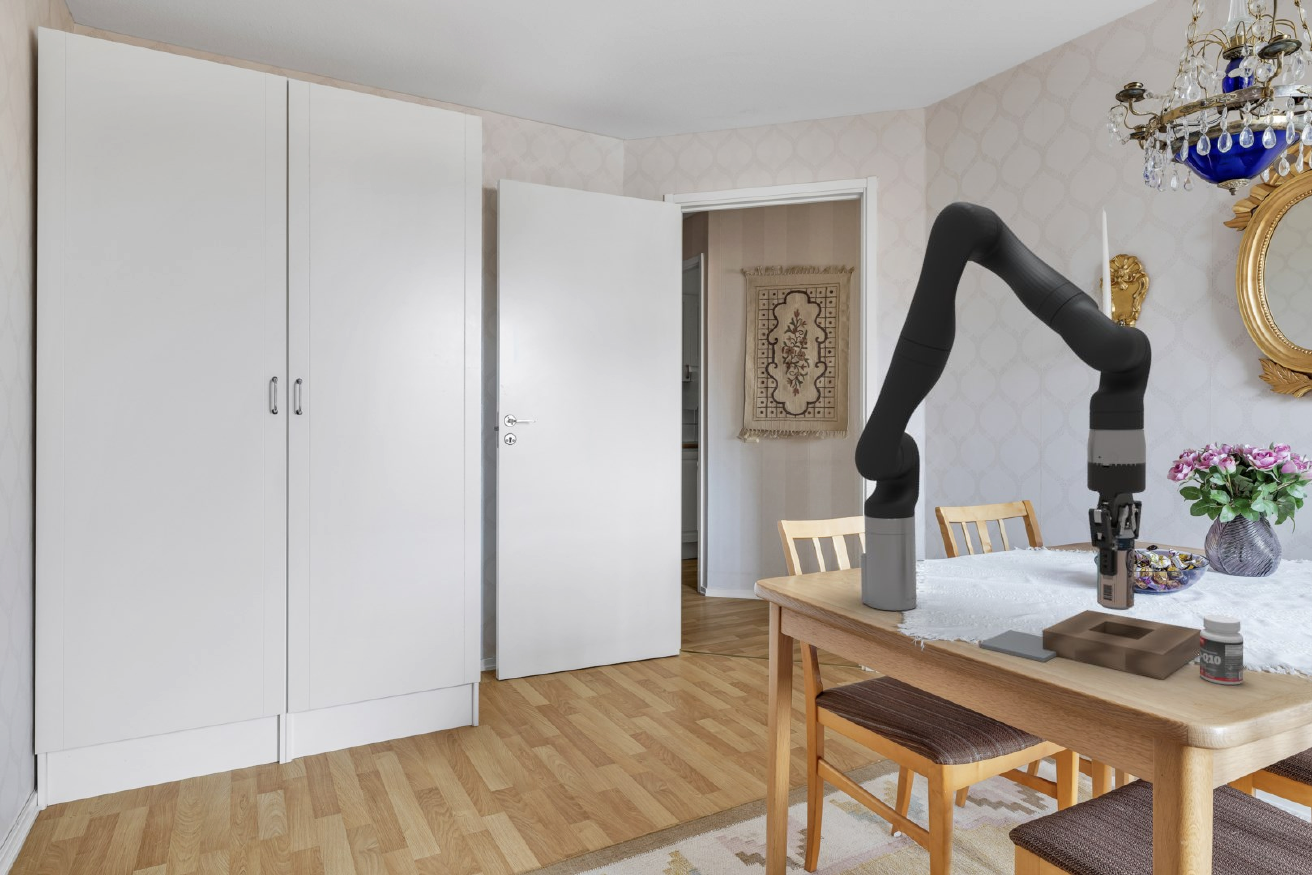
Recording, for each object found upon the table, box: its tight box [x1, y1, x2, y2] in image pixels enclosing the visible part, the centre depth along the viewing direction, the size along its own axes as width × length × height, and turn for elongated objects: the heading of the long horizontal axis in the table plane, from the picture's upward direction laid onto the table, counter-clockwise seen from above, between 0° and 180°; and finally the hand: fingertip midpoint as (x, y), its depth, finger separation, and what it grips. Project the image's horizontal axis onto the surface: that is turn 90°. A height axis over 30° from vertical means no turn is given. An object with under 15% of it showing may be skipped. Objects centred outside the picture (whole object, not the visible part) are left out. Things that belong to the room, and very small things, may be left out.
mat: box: [978, 629, 1057, 663], centre depth 120 cm, size 10×10×1 cm
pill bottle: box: [1199, 614, 1244, 686], centre depth 104 cm, size 5×5×8 cm
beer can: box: [1096, 527, 1136, 611], centre depth 116 cm, size 5×5×12 cm
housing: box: [1042, 609, 1202, 681], centre depth 116 cm, size 16×16×4 cm
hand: (1115, 571), depth 116 cm, fingers closed on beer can, 4 cm apart
